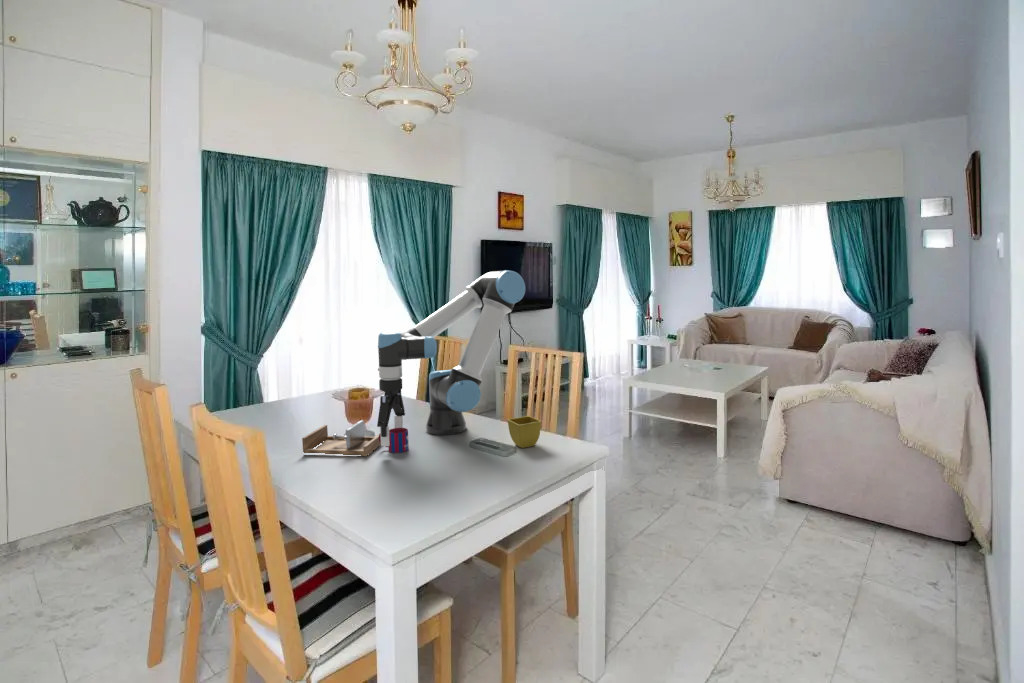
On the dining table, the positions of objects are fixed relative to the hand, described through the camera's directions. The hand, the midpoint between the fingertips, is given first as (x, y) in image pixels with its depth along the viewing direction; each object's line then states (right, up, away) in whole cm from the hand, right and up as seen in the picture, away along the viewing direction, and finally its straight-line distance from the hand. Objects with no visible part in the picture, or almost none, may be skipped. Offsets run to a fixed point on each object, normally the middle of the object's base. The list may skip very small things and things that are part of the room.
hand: (392, 440), depth 183 cm
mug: (0, -4, +1) cm, 4 cm away
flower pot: (+45, -3, +2) cm, 45 cm away
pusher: (-16, -2, +3) cm, 17 cm away
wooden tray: (-17, -3, +3) cm, 17 cm away
